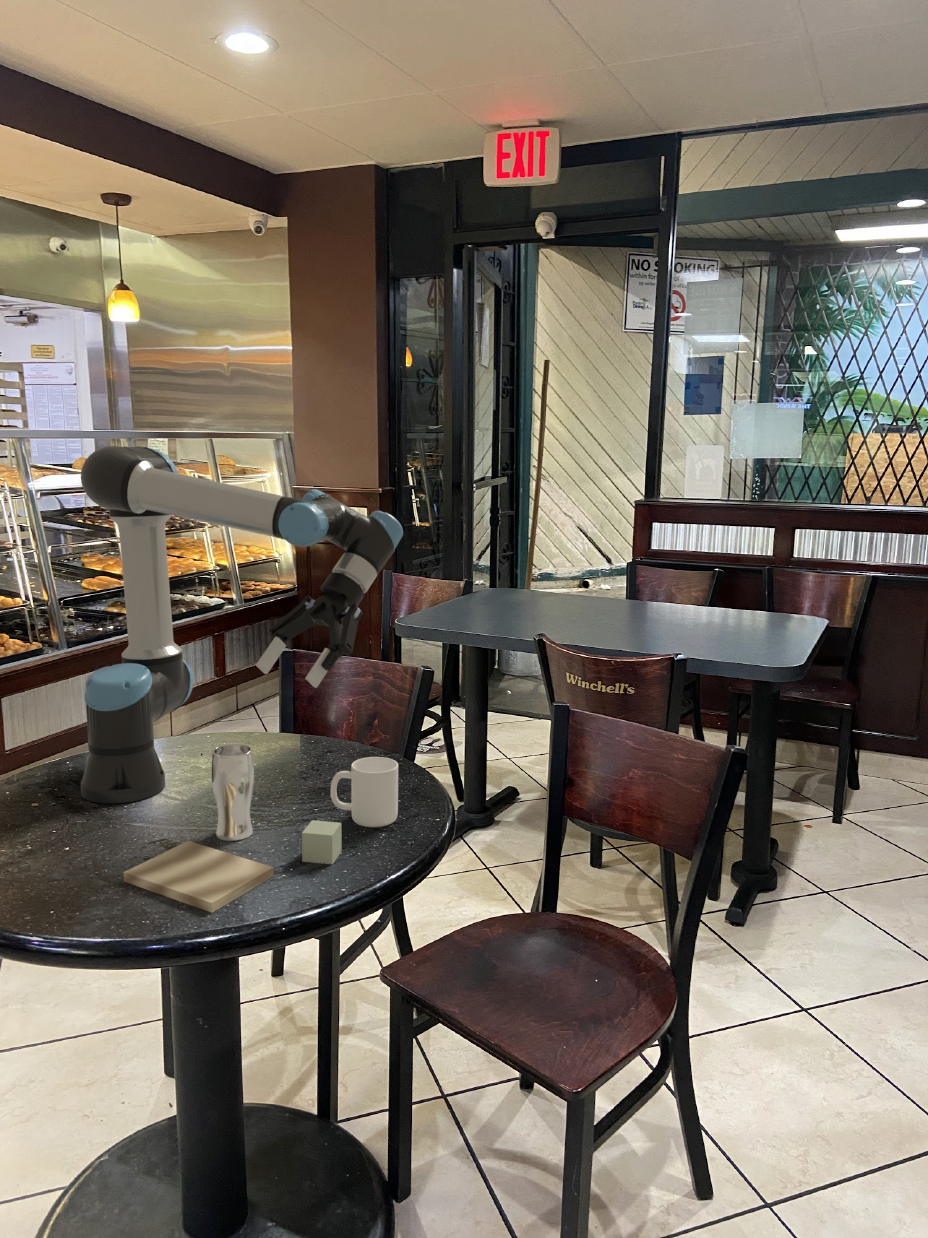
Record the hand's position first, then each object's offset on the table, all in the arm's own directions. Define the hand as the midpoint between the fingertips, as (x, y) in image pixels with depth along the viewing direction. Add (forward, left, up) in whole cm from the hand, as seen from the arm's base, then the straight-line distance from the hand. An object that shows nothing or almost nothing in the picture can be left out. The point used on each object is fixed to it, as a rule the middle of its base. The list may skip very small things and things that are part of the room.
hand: (285, 676), depth 156 cm
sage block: (+16, -10, -26) cm, 32 cm away
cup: (+13, +6, -26) cm, 29 cm away
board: (+5, -26, -26) cm, 37 cm away
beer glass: (-2, -11, -26) cm, 28 cm away
